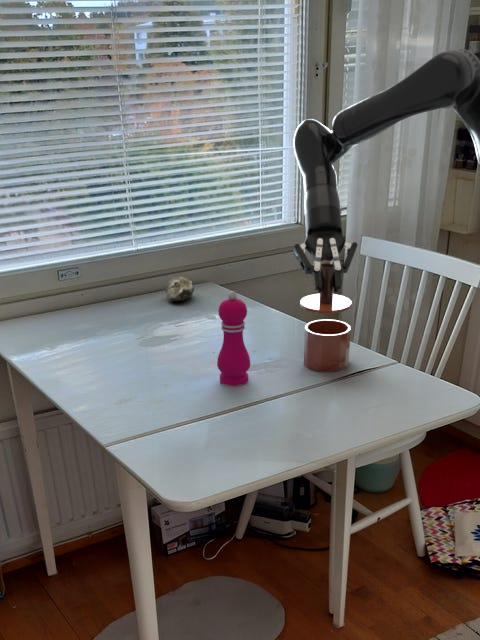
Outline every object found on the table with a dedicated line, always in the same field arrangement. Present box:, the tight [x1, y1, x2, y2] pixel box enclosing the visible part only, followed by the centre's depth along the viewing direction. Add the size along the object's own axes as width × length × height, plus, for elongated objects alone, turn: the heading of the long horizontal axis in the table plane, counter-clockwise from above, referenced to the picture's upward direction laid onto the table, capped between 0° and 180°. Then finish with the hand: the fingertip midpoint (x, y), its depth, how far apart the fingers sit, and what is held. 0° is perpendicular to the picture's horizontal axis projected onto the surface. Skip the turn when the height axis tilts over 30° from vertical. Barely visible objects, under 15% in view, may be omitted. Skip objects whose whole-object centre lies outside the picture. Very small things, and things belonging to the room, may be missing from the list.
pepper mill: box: [216, 290, 251, 387], centre depth 167 cm, size 7×7×20 cm
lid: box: [299, 263, 353, 315], centre depth 162 cm, size 11×11×9 cm
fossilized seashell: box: [164, 276, 195, 302], centre depth 218 cm, size 8×7×10 cm
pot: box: [303, 319, 352, 373], centre depth 178 cm, size 10×10×8 cm
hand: (328, 290), depth 161 cm, fingers closed on lid, 3 cm apart
